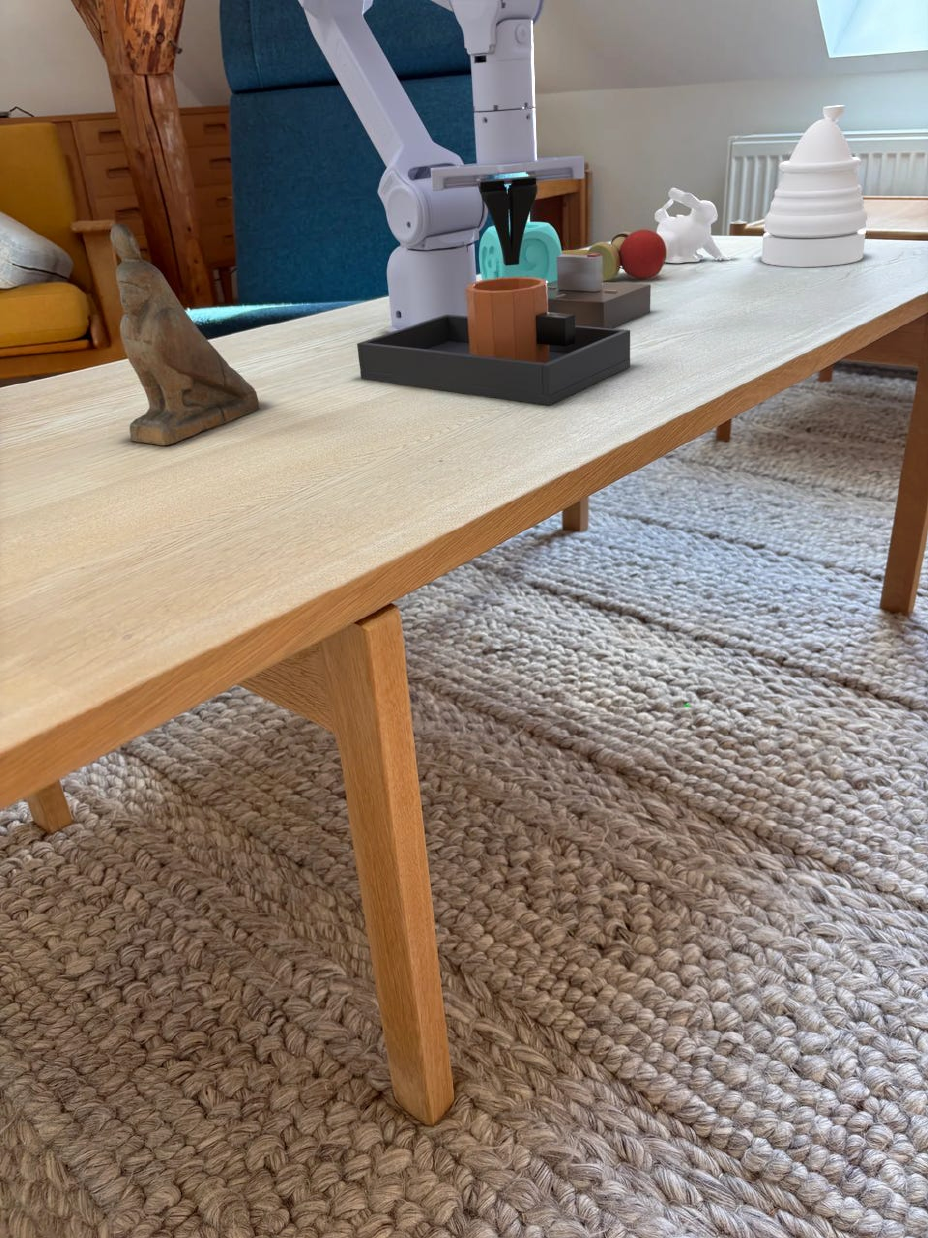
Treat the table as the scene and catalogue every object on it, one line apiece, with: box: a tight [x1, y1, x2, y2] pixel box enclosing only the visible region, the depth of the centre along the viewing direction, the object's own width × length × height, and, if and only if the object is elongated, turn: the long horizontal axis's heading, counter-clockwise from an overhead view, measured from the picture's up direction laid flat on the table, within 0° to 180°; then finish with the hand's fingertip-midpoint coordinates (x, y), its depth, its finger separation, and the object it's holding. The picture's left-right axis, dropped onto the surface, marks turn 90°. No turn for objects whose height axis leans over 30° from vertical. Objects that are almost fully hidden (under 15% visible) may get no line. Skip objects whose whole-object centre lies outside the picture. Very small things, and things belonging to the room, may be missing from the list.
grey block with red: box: [557, 253, 604, 292], centre depth 106 cm, size 5×1×4 cm, turn 52°
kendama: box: [561, 228, 667, 282], centre depth 129 cm, size 8×6×18 cm
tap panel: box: [547, 280, 652, 329], centre depth 108 cm, size 12×10×3 cm
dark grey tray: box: [356, 315, 631, 406], centre depth 89 cm, size 21×13×3 cm, turn 52°
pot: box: [466, 277, 575, 363], centre depth 86 cm, size 10×7×7 cm
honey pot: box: [761, 104, 868, 268], centre depth 127 cm, size 13×13×18 cm
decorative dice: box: [478, 221, 563, 283], centre depth 122 cm, size 8×8×8 cm
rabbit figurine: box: [654, 187, 733, 264], centre depth 134 cm, size 12×8×10 cm, turn 50°
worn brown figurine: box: [110, 222, 260, 446], centre depth 78 cm, size 12×6×18 cm, turn 145°
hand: (511, 263), depth 97 cm, fingers closed
